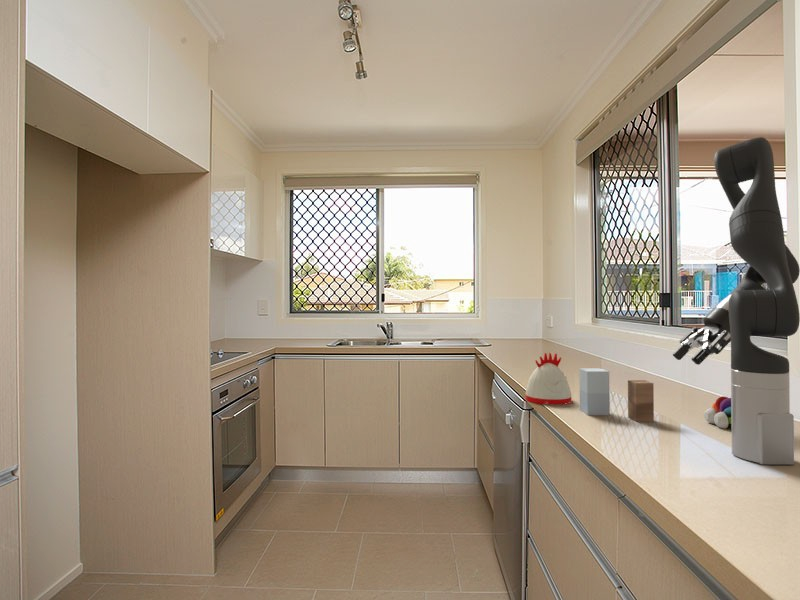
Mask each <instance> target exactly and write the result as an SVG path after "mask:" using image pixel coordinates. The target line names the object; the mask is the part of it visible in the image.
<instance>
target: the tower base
mask: <svg viewBox="0 0 800 600" xmlns="http://www.w3.org/2000/svg"><path fill="white" fill-rule="evenodd" d="M610 395H611V393H586V392H584V391H582V390H580V389H579V411H580V410H581V411H580V412H582V413H583V412H584V414H585V415H587V416H610V415H611V414H610V413H611V412H610V411H611V410H610V403H611V402H610V398H611V397H610Z"/></svg>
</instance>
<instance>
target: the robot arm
mask: <svg viewBox="0 0 800 600" xmlns="http://www.w3.org/2000/svg"><path fill="white" fill-rule="evenodd" d="M713 157H714V158H713V161H714V162H713V163H714V164H713V165H714V169H715V173H716V176H717V179H718V181H719V183H720V186H721V187H722V190H723V192H724V193H725V195H726V197H727V200H728V203H730V206H731V208H732V209H733V211H732V213H731V214H730V217H729V222H728V227H729V229H728V230H729V237H730V244H731V248H732V249H733V250H734V251H735V253H736V254H737V255H738V257H740V258H741V259H742V260H744V262H746V264H748V267H747V269H746V271H745V272H744V275H743V276H742V278H741V281H740V282H739V284H738V285H737V286H736V287H735V288H734V289H733V290H732V291H731V292H730V293H729V295H727V296H726V297H724V298H723V299H722V300H721V301H720V302H718V304H716V306H714V307H713V309H712V310H711V311H709V312H708V314H706V315H705V317H704V318H703V324H704V325H703V327H701V328H700V329H698V328H697V327H696V326H694V327H692V328H691V329H690V330H689V331H688V332H687V333H686V334H685V335H684V336H683V337H682V338H680V340H679V341H678V342H679V344H680V346H679V347H678V348H677V349H676V350H675V351H674V352H673V354H672V356H673V357H674V359H676V360H678V361H680V360H682V359H683V358H684V357H685V356H686V355H687V354H688V353H689V352H690V351H691V350H693V349H696V348H700V347H702V348H700V349H699V350H698V351H697V352H696V353H695V354H694V355H693V356H692V357H691V361H692V362H693V363H694V364H695V365H697V366H698V365H701V364H702V363H703V362H704V361H705V360H706V359H707V358H708V357H709V356H712V355H714V354H715V355H718V354H720V353H721V352H722V351H723V350H724V348H726V347H727V346H728V344H730V368H731V369H730V398H731V424H730V425H731V428H730V429H731V454H732V455H734V456H736V457H737V458H740V459H742V460H746V461H749V462H755V463H757V464H759V465H795V430H794V429H795V427H794V426H795V425H794V424H795V421H794V419H795V418H794V414H792V413H790V412H791V411H790V409H791V408H790V406H791V403H790V397H791V396H790V360H789V359H788V358H787V357H786V356H784V355H781V354H778V353H774V352H771V351H767V350H765V349H763V348H761V347H759V346H758V345H756V344H755V343H753V342H752V340H751V337H790V336H793V335H795V334H796V333H797V332H798V330H799V326H800V307H799V303H798V299H797V295H796V291H795V287H794V283H796V281H798V279H799V276H800V264H799V262H798V260H797V259H796V257H795V256H794V255H793V253H792V251H791V249H790V248H789V247H788V246H787V245H786V241H785V233H784V227H783V226H784V225H783V220H782V219H783V218H782V215H781V210H780V204H779V201H778V196H777V189H776V178H775V175H776V174H775V161H774V160H775V159H774V153H773V148H772V146H771V143H770V142H769V140H768V139H766V138H765V137H763V136H758V137H754V138H750V139H746V140H744V141H742V142H737V143H735V144H732V145H729V146H726V147H724V148H721V149H719V150H717V151H716V152H715V154H714V156H713ZM747 181H752V183H751V185H750V187H749V189H748V190H747V191H746V193H745V192H744V191H743V190H742V188H741V187H740V185H739V184H740V183H744V182H747ZM763 284H767V285H766V286H767V287H768V289H766V288H765V287H764V286H762V285H763Z"/></svg>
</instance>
